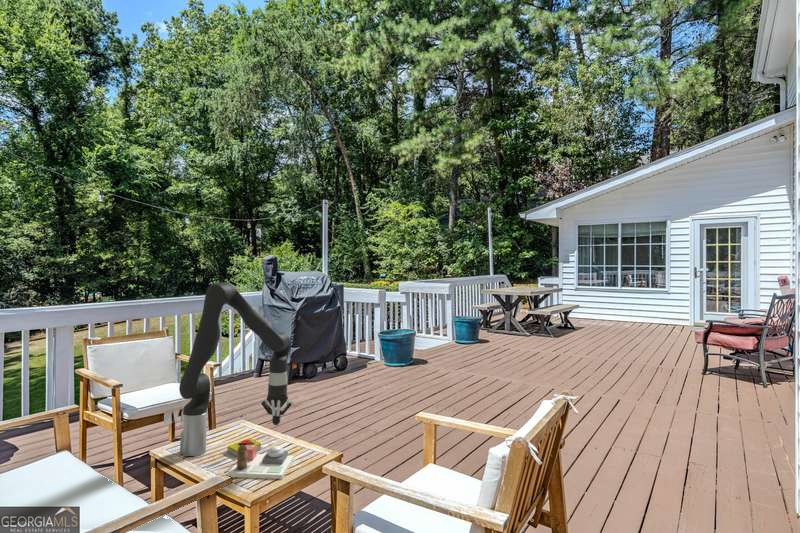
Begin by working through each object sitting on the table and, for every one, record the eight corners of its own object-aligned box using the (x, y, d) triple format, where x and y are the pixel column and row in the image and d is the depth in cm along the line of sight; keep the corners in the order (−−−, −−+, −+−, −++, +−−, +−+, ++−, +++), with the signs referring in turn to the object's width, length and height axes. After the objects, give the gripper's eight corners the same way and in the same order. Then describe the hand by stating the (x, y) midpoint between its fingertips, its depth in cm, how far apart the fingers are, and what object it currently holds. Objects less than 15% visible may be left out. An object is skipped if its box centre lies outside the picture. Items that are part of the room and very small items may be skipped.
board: (227, 476, 167) (227, 467, 167) (244, 457, 184) (244, 448, 184) (282, 478, 166) (282, 469, 166) (293, 459, 184) (294, 450, 183)
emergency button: (265, 439, 194) (235, 450, 181) (264, 449, 194) (234, 461, 181) (252, 434, 199) (222, 444, 187) (252, 443, 199) (221, 454, 187)
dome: (265, 461, 176) (265, 450, 176) (270, 454, 182) (270, 444, 182) (280, 462, 176) (281, 451, 176) (285, 455, 182) (285, 444, 182)
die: (241, 460, 178) (241, 449, 178) (245, 455, 182) (246, 444, 182) (252, 460, 178) (252, 449, 178) (256, 456, 182) (256, 445, 182)
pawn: (235, 469, 169) (236, 446, 169) (239, 465, 173) (239, 443, 173) (244, 470, 169) (245, 447, 169) (248, 465, 173) (248, 443, 173)
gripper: (258, 384, 175) (257, 427, 176) (291, 385, 175) (289, 428, 175) (264, 379, 183) (263, 420, 183) (296, 380, 183) (294, 421, 183)
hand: (276, 424), depth 179 cm, fingers closed
